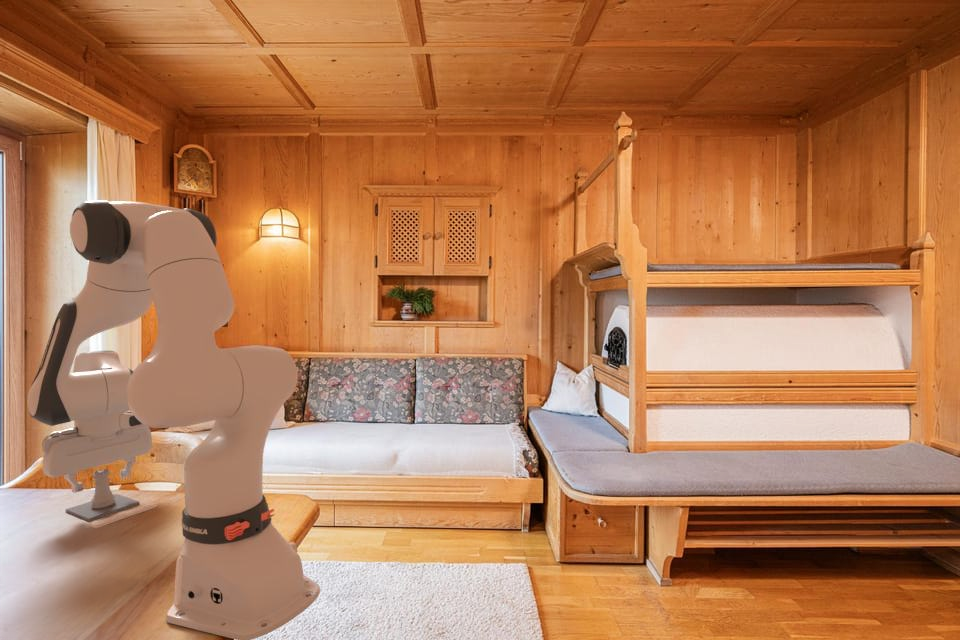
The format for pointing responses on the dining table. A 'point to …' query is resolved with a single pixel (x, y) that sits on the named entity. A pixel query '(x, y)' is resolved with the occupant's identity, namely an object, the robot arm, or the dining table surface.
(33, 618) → the dining table surface
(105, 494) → the rook chess piece
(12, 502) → the dining table surface
